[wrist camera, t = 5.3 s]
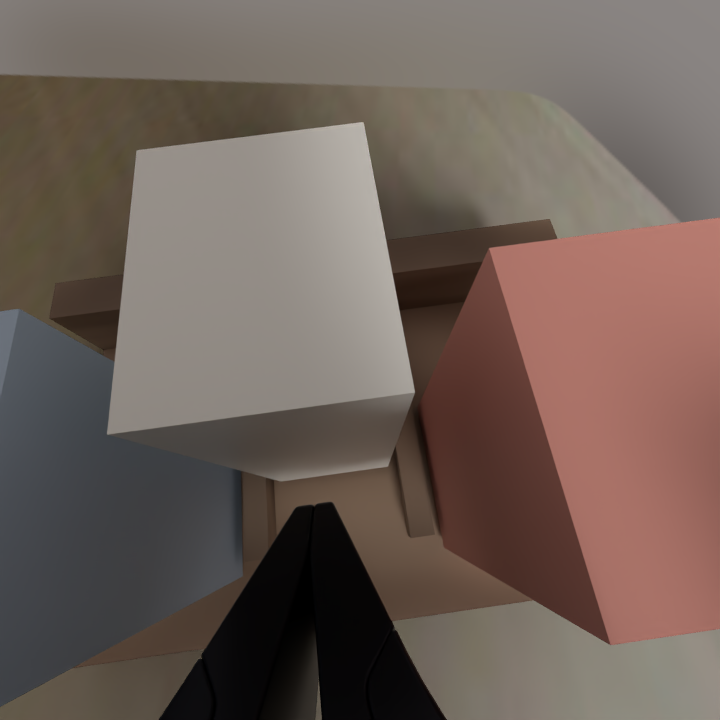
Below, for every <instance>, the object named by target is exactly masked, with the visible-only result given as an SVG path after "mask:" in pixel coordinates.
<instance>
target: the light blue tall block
mask: <svg viewBox="0 0 720 720" xmlns="http://www.w3.org/2000/svg"><path fill="white" fill-rule="evenodd" d="M114 363H115V362H114V361H112V360H110V359H108V358H106V357H105V356H103V355H101V354H99V353H98V352H96V351H94V350H92V349H90V348H89V347H87V346H85V345H83V344H81V343H80V342H78V341H76V340H74V339H72V338H71V337H69V336H67V335H65V334H63V333H62V332H60V331H58V330H56V329H54V328H53V327H51V326H49V325H47V324H46V323H44V322H42V321H40V320H38V319H37V318H35V317H33V316H31V315H29V314H28V313H26V312H24V311H22V310H20V309H15V310H7V311H0V707H1V706H2V705H4V704H6V703H8V702H10V701H12V700H14V699H15V698H17V697H19V696H21V695H23V694H25V693H27V692H28V691H30V690H32V689H34V688H36V687H38V686H40V685H41V684H43V683H45V682H47V681H49V680H51V679H53V678H54V677H56V676H58V675H60V674H62V673H64V672H66V671H68V670H69V669H71V668H73V667H75V666H77V665H79V664H81V663H82V662H84V661H86V660H88V659H90V658H92V657H94V656H95V655H97V654H99V653H101V652H103V651H105V650H107V649H108V648H110V647H112V646H114V645H116V644H118V643H120V642H122V641H123V640H125V639H127V638H129V637H131V636H133V635H135V634H136V633H138V632H140V631H142V630H144V629H146V628H148V627H149V626H151V625H153V624H155V623H157V622H159V621H161V620H162V619H164V618H166V617H168V616H170V615H172V614H174V613H175V612H177V611H179V610H181V609H183V608H185V607H187V606H189V605H190V604H192V603H194V602H196V601H198V600H200V599H202V598H203V597H205V596H207V595H209V594H211V593H213V592H215V591H216V590H218V589H220V588H222V587H224V586H226V585H228V584H229V583H231V582H233V581H235V580H237V579H239V578H241V577H242V576H243V555H242V504H241V471H240V470H236V469H233V468H229V467H225V466H222V465H218V464H214V463H210V462H207V461H203V460H199V459H196V458H192V457H188V456H184V455H181V454H177V453H173V452H170V451H166V450H162V449H158V448H155V447H151V446H147V445H143V444H140V443H136V442H132V441H129V440H125V439H121V438H117V437H114V436H110V435H107V430H108V420H109V410H110V401H111V391H112V382H113V372H114Z"/></svg>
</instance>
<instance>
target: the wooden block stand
mask: <svg viewBox="0 0 720 720" xmlns="http://www.w3.org/2000/svg"><path fill="white" fill-rule="evenodd" d="M554 239H557V236H556V234H555V231H554V229H553V226H552V224H551V221H550V219H546V220H538V221H531V222H523V223H515V224H507V225H500V226H492V227H484V228H477V229H469V230H461V231H454V232H446V233H438V234H431V235H423V236H415V237H408V238H400V239H392V240H386V243H387V248H388V253H389V258H390V264H391V269H392V274H393V279H394V285H395V290H396V295H397V300H398V306H399V311H400V316H401V321H402V326H403V332H404V337H405V342H406V347H407V353H408V358H409V363H410V368H411V374H412V379H413V384H414V389H415V394H414V397H413V400H412V402H411V405H410V408H409V410H408V413H407V416H406V419H405V421H404V424H403V427H402V429H401V432H400V435H399V438H398V440H397V443H396V446H395V448H394V451H393V454H392V457H391V459H390V462H389V465H388V467H382V468H374V469H367V470H360V471H353V472H346V473H339V474H332V475H324V476H317V477H310V478H303V479H296V480H289V481H282V482H281V481H277V480H274V479H270V478H266V477H263V476H259V475H255V474H251V473H248V472H244V471H241V504H242V555H243V576H242V577H241V578H239V579H237V580H235V581H233V582H231V583H229V584H228V585H226V586H224V587H222V588H220V589H218V590H216V591H215V592H213V593H211V594H209V595H207V596H205V597H203V598H202V599H200V600H198V601H196V602H194V603H192V604H190V605H189V606H187V607H185V608H183V609H181V610H179V611H177V612H175V613H174V614H172V615H170V616H168V617H166V618H164V619H162V620H161V621H159V622H157V623H155V624H153V625H151V626H149V627H148V628H146V629H144V630H142V631H140V632H138V633H136V634H135V635H133V636H131V637H129V638H127V639H125V640H123V641H122V642H120V643H118V644H116V645H114V646H112V647H110V648H108V649H107V650H105V651H103V652H101V653H99V654H97V655H95V656H94V657H92V658H90V659H88V660H86V661H84V662H82V663H81V664H79V665H77V666H75V667H73V668H76V667H83V666H90V665H97V664H104V663H110V662H117V661H124V660H131V659H137V658H144V657H151V656H158V655H165V654H171V653H178V652H185V651H192V650H199V649H205V648H206V647H207V645H208V644H209V642H210V641H211V639H212V637H213V636H214V634H215V633H216V631H217V630H218V628H219V626H220V625H221V623H222V622H223V620H224V619H225V617H226V615H227V614H228V612H229V611H230V609H231V608H232V606H233V604H234V603H235V601H236V600H237V598H238V597H239V595H240V593H241V592H242V590H243V589H244V587H245V586H246V584H247V582H248V581H249V579H250V578H251V576H252V575H253V573H254V571H255V570H256V568H257V567H258V565H259V564H260V562H261V560H262V559H263V557H264V556H265V554H266V553H267V551H268V549H269V548H270V546H271V545H272V543H273V542H274V540H275V538H276V537H277V535H278V534H279V532H280V531H281V529H282V527H283V526H284V524H285V523H286V521H287V520H288V518H289V516H290V515H291V513H292V512H293V510H294V509H295V508H296V507H297V506H302V505H309V504H312V505H314V506H315V505H316V504H317V503H324V502H333V503H334V505H335V507H336V509H337V511H338V513H339V515H340V517H341V519H342V521H343V523H344V525H345V527H346V529H347V531H348V533H349V535H350V537H351V539H352V541H353V544H354V546H355V548H356V550H357V552H358V554H359V556H360V558H361V560H362V562H363V564H364V566H365V568H366V570H367V572H368V574H369V576H370V578H371V580H372V582H373V584H374V586H375V588H376V590H377V592H378V594H379V596H380V598H381V600H382V602H383V604H384V606H385V609H386V611H387V613H388V615H389V617H390V619H391V621H396V620H402V619H409V618H416V617H423V616H430V615H436V614H443V613H450V612H457V611H463V610H470V609H477V608H484V607H491V606H497V605H504V604H511V603H518V602H525V601H531V600H533V599H531V598H529V597H528V596H526V595H524V594H522V593H521V592H519V591H517V590H516V589H514V588H512V587H510V586H509V585H507V584H505V583H504V582H502V581H500V580H498V579H497V578H495V577H493V576H492V575H490V574H488V573H486V572H485V571H483V570H481V569H480V568H478V567H476V566H475V565H473V564H471V563H469V562H468V561H466V560H464V559H463V558H461V557H459V556H457V555H456V554H454V553H452V552H451V551H449V550H447V549H445V548H444V545H443V540H442V535H441V530H440V524H439V519H438V514H437V509H436V503H435V498H434V493H433V488H432V482H431V477H430V472H429V467H428V461H427V456H426V451H425V446H424V440H423V435H422V430H421V425H420V419H419V414H418V409H417V407H418V405H419V403H420V401H421V399H422V396H423V394H424V392H425V390H426V387H427V385H428V383H429V381H430V378H431V376H432V374H433V372H434V370H435V367H436V365H437V363H438V361H439V358H440V356H441V354H442V352H443V349H444V347H445V345H446V343H447V341H448V338H449V336H450V334H451V332H452V329H453V327H454V325H455V323H456V320H457V318H458V316H459V314H460V311H461V309H462V307H463V305H464V303H465V300H466V298H467V296H468V294H469V291H470V289H471V287H472V285H473V282H474V280H475V278H476V276H477V274H478V271H479V269H480V267H481V265H482V262H483V260H484V258H485V256H486V253H487V251H488V249H489V248H493V247H500V246H508V245H516V244H523V243H531V242H538V241H546V240H554ZM123 277H124V274H123V275H116V276H108V277H100V278H93V279H85V280H77V281H70V282H62V283H56V284H55V290H54V296H53V301H52V307H51V312H50V318H49V319H51V320H53V321H55V322H56V323H58V324H60V325H62V326H63V327H65V328H67V329H68V330H70V331H72V332H74V333H75V334H77V335H79V336H81V337H82V338H84V339H86V340H87V341H89V342H91V343H93V344H94V345H96V346H98V347H99V348H101V349H103V356H105V357H106V358H108V359H110V360H112V361H114V362H115V353H116V344H117V334H118V325H119V315H120V306H121V296H122V287H123Z"/></svg>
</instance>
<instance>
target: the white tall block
mask: <svg viewBox="0 0 720 720" xmlns="http://www.w3.org/2000/svg"><path fill="white" fill-rule="evenodd" d="M414 394H415V389H414V384H413V379H412V374H411V368H410V363H409V358H408V353H407V347H406V342H405V337H404V332H403V326H402V321H401V316H400V311H399V306H398V300H397V295H396V290H395V285H394V279H393V274H392V269H391V264H390V258H389V253H388V248H387V243H386V238H385V232H384V227H383V222H382V217H381V211H380V206H379V201H378V196H377V190H376V185H375V180H374V175H373V170H372V164H371V159H370V154H369V149H368V143H367V138H366V133H365V128H364V123H363V122H360V123H352V124H344V125H336V126H328V127H320V128H312V129H304V130H296V131H288V132H280V133H272V134H264V135H256V136H248V137H240V138H232V139H224V140H216V141H208V142H200V143H192V144H184V145H176V146H168V147H160V148H152V149H144V150H137V153H136V163H135V172H134V182H133V191H132V201H131V210H130V220H129V229H128V239H127V248H126V258H125V267H124V277H123V287H122V296H121V306H120V315H119V325H118V334H117V344H116V353H115V363H114V372H113V382H112V391H111V401H110V410H109V420H108V430H107V435H110V436H114V437H117V438H121V439H125V440H129V441H132V442H136V443H140V444H143V445H147V446H151V447H155V448H158V449H162V450H166V451H170V452H173V453H177V454H181V455H184V456H188V457H192V458H196V459H199V460H203V461H207V462H210V463H214V464H218V465H222V466H225V467H229V468H233V469H236V470H240V471H244V472H248V473H251V474H255V475H259V476H263V477H266V478H270V479H274V480H277V481H281V482H282V481H289V480H296V479H303V478H310V477H317V476H324V475H332V474H339V473H346V472H353V471H360V470H367V469H374V468H382V467H388V465H389V462H390V459H391V457H392V454H393V451H394V448H395V446H396V443H397V440H398V438H399V435H400V432H401V429H402V427H403V424H404V421H405V419H406V416H407V413H408V410H409V408H410V405H411V402H412V400H413V397H414Z"/></svg>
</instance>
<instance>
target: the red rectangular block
mask: <svg viewBox="0 0 720 720" xmlns="http://www.w3.org/2000/svg"><path fill="white" fill-rule="evenodd" d="M417 409H418V414H419V419H420V425H421V430H422V435H423V440H424V446H425V451H426V456H427V461H428V467H429V472H430V477H431V482H432V488H433V493H434V498H435V503H436V509H437V514H438V519H439V524H440V530H441V535H442V540H443V545H444V548H445V549H447V550H449V551H451V552H452V553H454V554H456V555H457V556H459V557H461V558H463V559H464V560H466V561H468V562H469V563H471V564H473V565H475V566H476V567H478V568H480V569H481V570H483V571H485V572H486V573H488V574H490V575H492V576H493V577H495V578H497V579H498V580H500V581H502V582H504V583H505V584H507V585H509V586H510V587H512V588H514V589H516V590H517V591H519V592H521V593H522V594H524V595H526V596H528V597H529V598H531V599H533V600H534V601H536V602H538V603H539V604H541V605H543V606H545V607H546V608H548V609H550V610H551V611H553V612H555V613H557V614H558V615H560V616H562V617H563V618H565V619H567V620H569V621H570V622H572V623H574V624H575V625H577V626H579V627H581V628H582V629H584V630H586V631H587V632H589V633H591V634H593V635H594V636H596V637H598V638H599V639H601V640H603V641H604V642H606V643H608V644H610V645H615V644H621V643H628V642H635V641H641V640H648V639H655V638H661V637H668V636H675V635H681V634H688V633H695V632H701V631H708V630H715V629H720V218H714V219H706V220H699V221H691V222H683V223H676V224H668V225H660V226H653V227H645V228H638V229H630V230H622V231H615V232H607V233H599V234H592V235H584V236H577V237H569V238H561V239H554V240H546V241H538V242H531V243H523V244H516V245H508V246H500V247H493V248H489V249H488V251H487V253H486V256H485V258H484V260H483V262H482V265H481V267H480V269H479V271H478V274H477V276H476V278H475V280H474V282H473V285H472V287H471V289H470V291H469V294H468V296H467V298H466V300H465V303H464V305H463V307H462V309H461V311H460V314H459V316H458V318H457V320H456V323H455V325H454V327H453V329H452V332H451V334H450V336H449V338H448V341H447V343H446V345H445V347H444V349H443V352H442V354H441V356H440V358H439V361H438V363H437V365H436V367H435V370H434V372H433V374H432V376H431V378H430V381H429V383H428V385H427V387H426V390H425V392H424V394H423V396H422V399H421V401H420V403H419V405H418V407H417Z"/></svg>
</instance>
